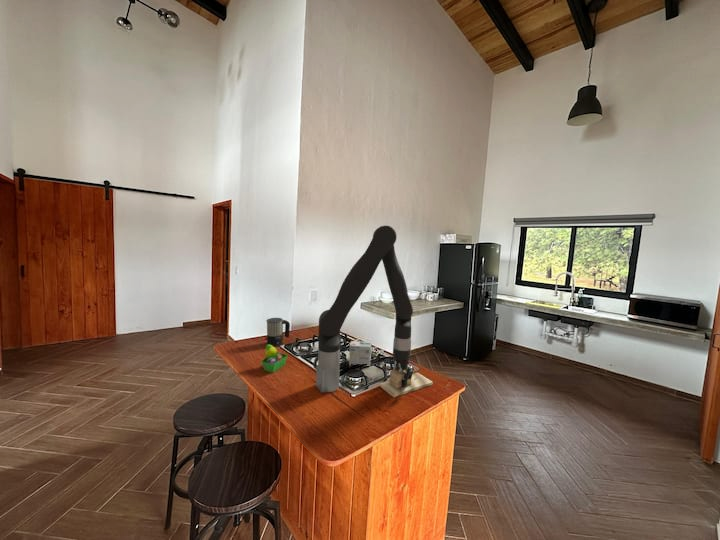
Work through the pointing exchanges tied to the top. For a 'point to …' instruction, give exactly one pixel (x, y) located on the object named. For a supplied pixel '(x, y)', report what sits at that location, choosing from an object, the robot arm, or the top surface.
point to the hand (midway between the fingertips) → (399, 383)
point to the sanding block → (397, 379)
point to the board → (416, 383)
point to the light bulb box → (360, 353)
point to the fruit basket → (273, 359)
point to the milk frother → (276, 331)
